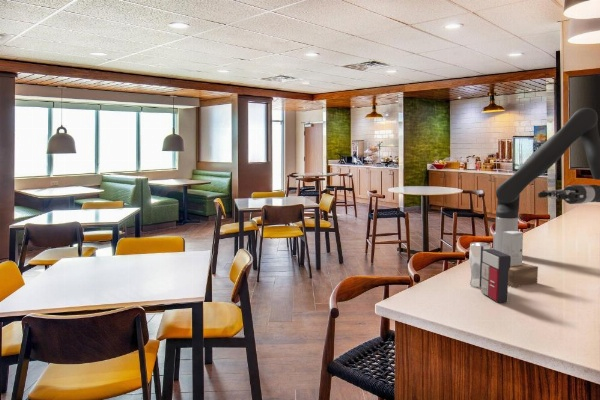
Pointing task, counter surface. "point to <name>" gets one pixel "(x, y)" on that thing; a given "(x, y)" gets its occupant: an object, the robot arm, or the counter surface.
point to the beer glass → (476, 262)
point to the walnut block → (522, 275)
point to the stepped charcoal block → (495, 274)
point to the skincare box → (513, 246)
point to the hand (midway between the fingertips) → (548, 195)
